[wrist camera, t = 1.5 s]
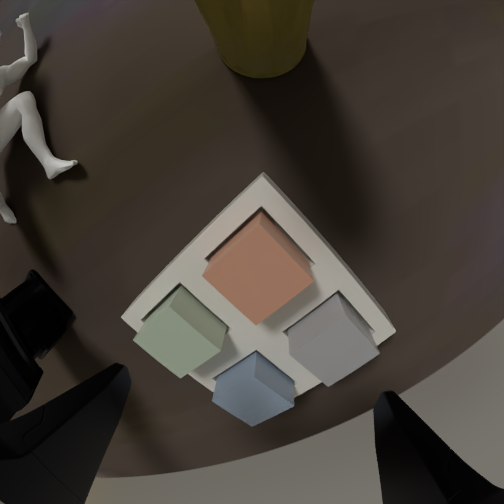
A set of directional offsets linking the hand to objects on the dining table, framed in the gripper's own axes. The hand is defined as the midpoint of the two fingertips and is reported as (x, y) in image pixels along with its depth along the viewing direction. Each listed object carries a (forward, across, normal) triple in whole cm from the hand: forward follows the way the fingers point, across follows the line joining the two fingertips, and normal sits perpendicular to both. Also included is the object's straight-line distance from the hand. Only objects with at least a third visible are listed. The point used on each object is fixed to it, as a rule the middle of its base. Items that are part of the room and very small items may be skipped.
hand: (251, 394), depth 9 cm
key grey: (+11, -5, +5) cm, 13 cm away
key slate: (+11, 0, +10) cm, 15 cm away
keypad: (+13, 0, +5) cm, 14 cm away
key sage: (+10, +6, +5) cm, 13 cm away
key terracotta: (+11, +1, 0) cm, 11 cm away
